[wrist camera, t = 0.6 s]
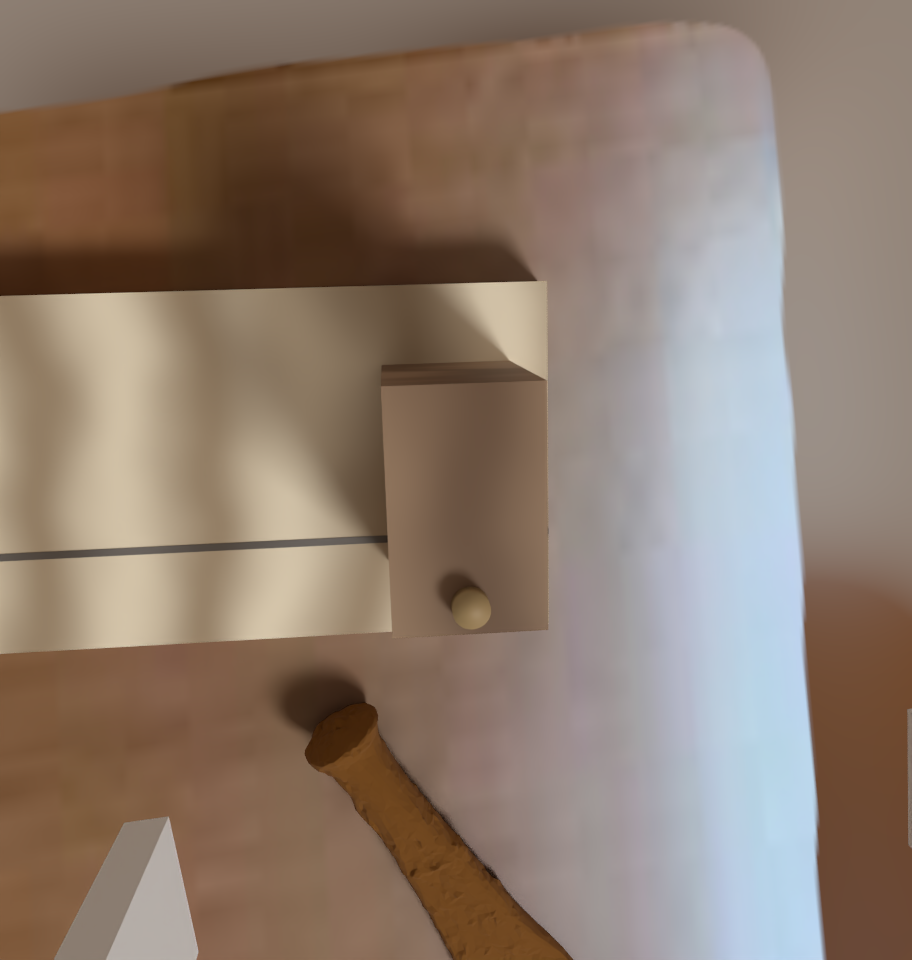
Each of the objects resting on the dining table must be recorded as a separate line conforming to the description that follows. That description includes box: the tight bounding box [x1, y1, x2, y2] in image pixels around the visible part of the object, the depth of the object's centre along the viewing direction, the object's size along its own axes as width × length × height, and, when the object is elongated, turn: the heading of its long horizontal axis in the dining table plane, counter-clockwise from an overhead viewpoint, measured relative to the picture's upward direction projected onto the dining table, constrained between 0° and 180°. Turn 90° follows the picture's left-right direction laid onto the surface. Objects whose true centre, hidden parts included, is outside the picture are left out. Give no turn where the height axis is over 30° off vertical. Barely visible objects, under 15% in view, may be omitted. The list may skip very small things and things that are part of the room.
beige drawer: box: [381, 361, 548, 639], centre depth 30 cm, size 5×8×9 cm, turn 1°
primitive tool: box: [305, 703, 573, 960], centre depth 40 cm, size 19×6×4 cm, turn 33°
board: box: [0, 281, 549, 654], centre depth 35 cm, size 28×14×2 cm, turn 91°
